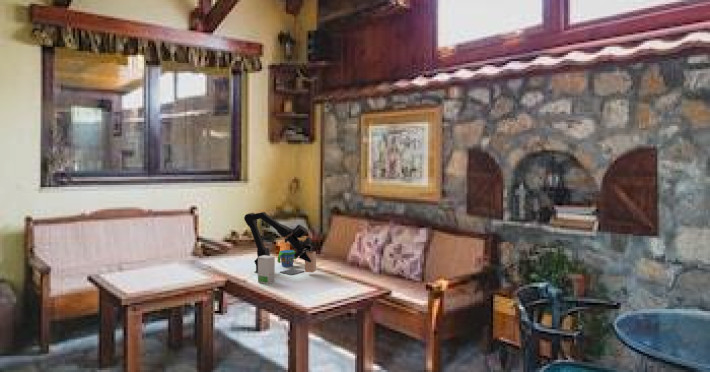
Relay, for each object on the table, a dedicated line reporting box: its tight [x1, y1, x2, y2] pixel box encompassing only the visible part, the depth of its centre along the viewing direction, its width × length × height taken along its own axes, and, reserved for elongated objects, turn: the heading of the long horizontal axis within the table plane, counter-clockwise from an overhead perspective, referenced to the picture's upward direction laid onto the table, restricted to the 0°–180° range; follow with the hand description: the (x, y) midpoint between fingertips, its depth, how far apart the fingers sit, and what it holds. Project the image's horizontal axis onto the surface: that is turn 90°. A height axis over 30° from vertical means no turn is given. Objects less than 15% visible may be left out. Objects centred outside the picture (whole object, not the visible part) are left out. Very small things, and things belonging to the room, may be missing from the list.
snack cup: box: [277, 249, 297, 268], centre depth 357 cm, size 16×10×10 cm
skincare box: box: [257, 255, 276, 285], centre depth 315 cm, size 8×7×16 cm
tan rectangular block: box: [304, 250, 317, 273], centre depth 331 cm, size 5×5×12 cm
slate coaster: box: [279, 268, 305, 276], centre depth 339 cm, size 11×11×1 cm
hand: (312, 260), depth 331 cm, fingers closed on tan rectangular block, 5 cm apart
